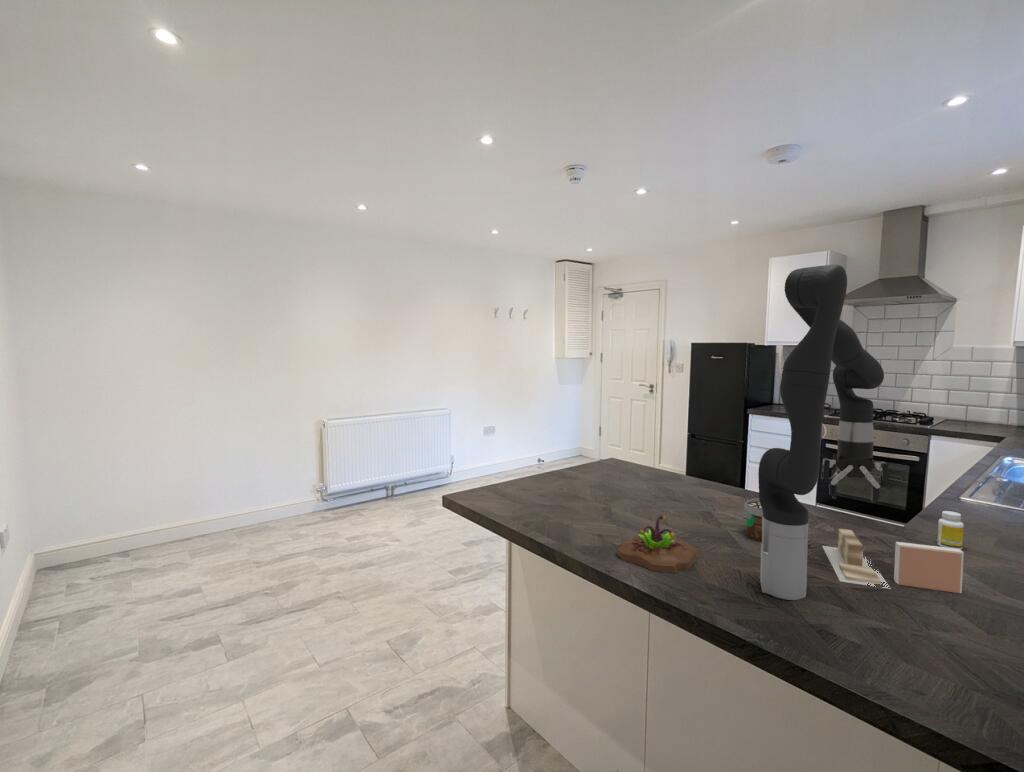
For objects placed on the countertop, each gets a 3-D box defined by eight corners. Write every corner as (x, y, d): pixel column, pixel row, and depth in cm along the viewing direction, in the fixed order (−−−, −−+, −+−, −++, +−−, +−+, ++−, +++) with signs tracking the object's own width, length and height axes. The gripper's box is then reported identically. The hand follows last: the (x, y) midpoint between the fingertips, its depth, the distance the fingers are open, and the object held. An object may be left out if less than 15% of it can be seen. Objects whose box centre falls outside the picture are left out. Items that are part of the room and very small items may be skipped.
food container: (748, 526, 154) (749, 495, 154) (770, 531, 150) (771, 499, 150) (738, 538, 145) (738, 505, 144) (760, 543, 141) (761, 509, 140)
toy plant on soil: (710, 557, 133) (710, 517, 132) (672, 580, 120) (672, 535, 119) (646, 537, 148) (646, 501, 147) (607, 555, 135) (606, 516, 134)
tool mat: (840, 582, 117) (840, 581, 117) (822, 547, 138) (822, 545, 138) (891, 590, 113) (891, 588, 113) (864, 552, 134) (864, 551, 134)
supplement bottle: (967, 551, 134) (969, 516, 133) (945, 549, 135) (947, 515, 134) (953, 543, 139) (955, 510, 138) (932, 542, 140) (934, 509, 139)
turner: (829, 548, 136) (830, 527, 135) (859, 552, 133) (860, 531, 132) (846, 579, 117) (846, 555, 117) (881, 584, 115) (882, 560, 114)
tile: (896, 585, 115) (898, 544, 114) (893, 581, 117) (895, 541, 116) (961, 595, 110) (964, 552, 109) (957, 591, 112) (959, 549, 111)
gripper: (825, 439, 124) (824, 501, 126) (893, 442, 119) (891, 507, 120) (820, 434, 131) (818, 493, 133) (884, 437, 126) (882, 498, 127)
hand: (853, 499), depth 126 cm, fingers open, 8 cm apart
